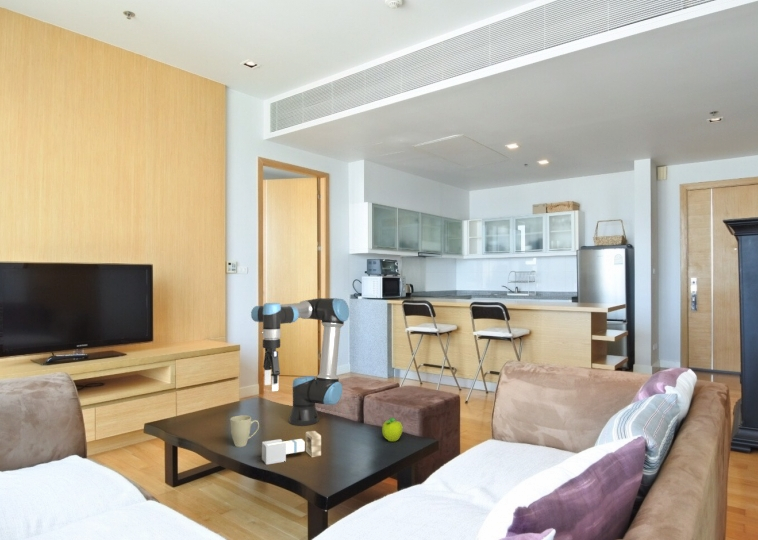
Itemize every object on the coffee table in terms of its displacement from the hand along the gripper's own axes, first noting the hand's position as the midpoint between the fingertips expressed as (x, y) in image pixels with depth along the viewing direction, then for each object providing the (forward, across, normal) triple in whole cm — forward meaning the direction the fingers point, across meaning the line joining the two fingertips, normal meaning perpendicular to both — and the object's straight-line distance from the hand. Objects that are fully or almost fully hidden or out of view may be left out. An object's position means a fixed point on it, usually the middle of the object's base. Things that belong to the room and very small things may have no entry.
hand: (271, 387), depth 211 cm
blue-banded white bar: (+25, +12, +3) cm, 28 cm away
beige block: (+27, +11, +16) cm, 33 cm away
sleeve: (+27, +12, -2) cm, 29 cm away
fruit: (+27, +11, +54) cm, 61 cm away
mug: (+27, -13, -9) cm, 31 cm away
